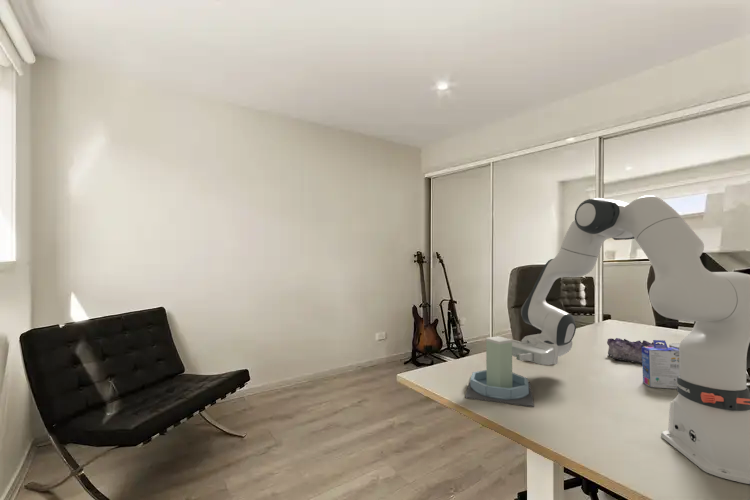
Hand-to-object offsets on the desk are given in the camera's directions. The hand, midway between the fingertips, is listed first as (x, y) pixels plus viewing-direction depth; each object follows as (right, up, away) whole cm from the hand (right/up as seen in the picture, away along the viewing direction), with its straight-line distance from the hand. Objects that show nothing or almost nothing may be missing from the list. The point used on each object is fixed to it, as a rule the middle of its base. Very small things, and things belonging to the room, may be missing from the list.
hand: (506, 353), depth 115 cm
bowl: (-3, -11, -2) cm, 12 cm away
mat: (-3, -11, -2) cm, 12 cm away
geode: (+63, -11, +28) cm, 70 cm away
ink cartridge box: (+52, -11, +1) cm, 53 cm away
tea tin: (-3, -10, -2) cm, 10 cm away
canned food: (+65, -11, +9) cm, 67 cm away
